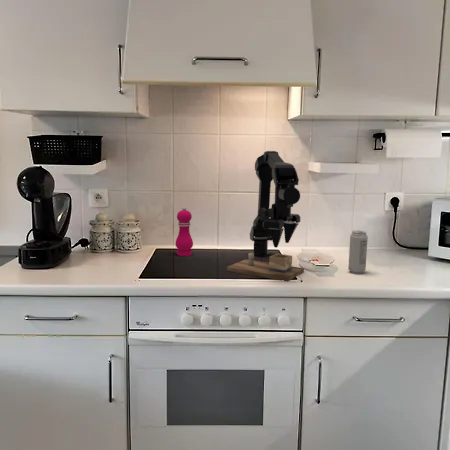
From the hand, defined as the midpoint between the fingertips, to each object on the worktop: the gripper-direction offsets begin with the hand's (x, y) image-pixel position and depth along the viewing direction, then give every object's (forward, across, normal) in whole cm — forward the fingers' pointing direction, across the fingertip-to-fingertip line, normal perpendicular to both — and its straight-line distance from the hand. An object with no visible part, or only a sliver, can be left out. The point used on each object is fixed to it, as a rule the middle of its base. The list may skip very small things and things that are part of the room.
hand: (281, 245), depth 173 cm
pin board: (+11, 0, -6) cm, 12 cm away
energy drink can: (+11, -18, +22) cm, 30 cm away
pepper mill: (+11, -5, -46) cm, 48 cm away
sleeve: (+9, 0, 0) cm, 9 cm away
